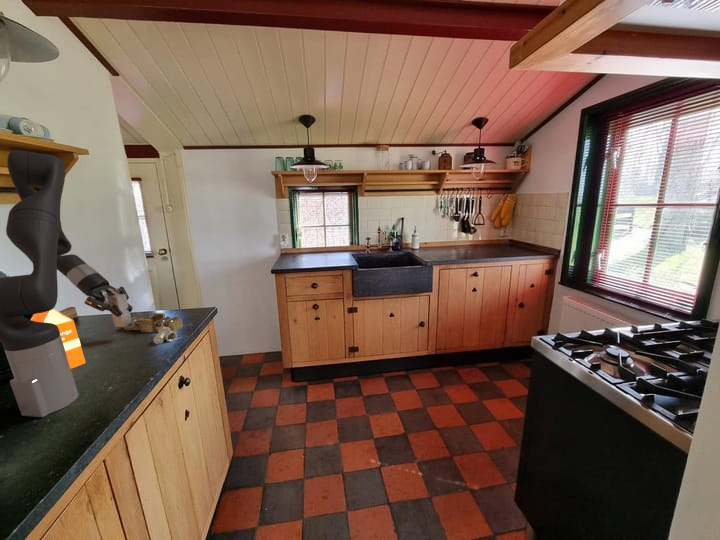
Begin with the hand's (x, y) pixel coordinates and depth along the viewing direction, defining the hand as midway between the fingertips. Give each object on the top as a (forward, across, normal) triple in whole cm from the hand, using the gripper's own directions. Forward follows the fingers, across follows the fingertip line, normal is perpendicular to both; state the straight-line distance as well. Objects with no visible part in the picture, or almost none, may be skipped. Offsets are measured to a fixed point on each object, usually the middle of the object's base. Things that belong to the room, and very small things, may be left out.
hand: (125, 312), depth 106 cm
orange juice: (+3, -18, +12) cm, 22 cm away
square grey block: (+2, 0, +5) cm, 5 cm away
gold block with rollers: (+8, +9, +7) cm, 14 cm away
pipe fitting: (+16, +1, -1) cm, 16 cm away
